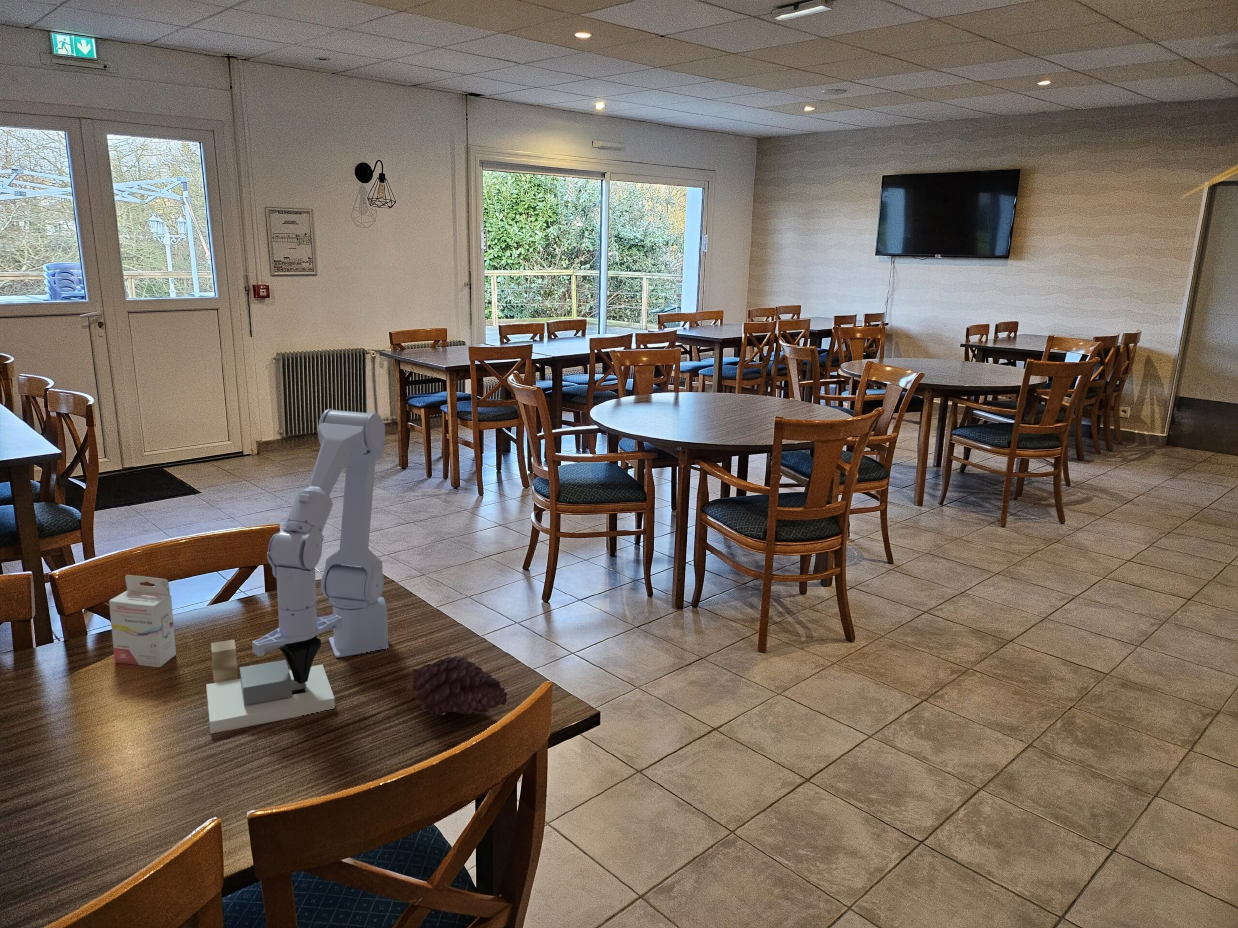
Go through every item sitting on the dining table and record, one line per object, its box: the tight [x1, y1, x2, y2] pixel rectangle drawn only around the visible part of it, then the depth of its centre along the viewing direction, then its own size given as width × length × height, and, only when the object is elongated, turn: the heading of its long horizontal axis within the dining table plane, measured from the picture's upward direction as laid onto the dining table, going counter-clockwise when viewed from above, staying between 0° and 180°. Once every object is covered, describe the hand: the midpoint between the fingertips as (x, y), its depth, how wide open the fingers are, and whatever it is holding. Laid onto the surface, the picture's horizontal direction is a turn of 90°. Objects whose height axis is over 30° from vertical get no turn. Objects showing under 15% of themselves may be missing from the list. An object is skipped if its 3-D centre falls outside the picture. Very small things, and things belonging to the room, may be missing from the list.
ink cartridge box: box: [108, 574, 177, 668], centre depth 145 cm, size 9×5×15 cm, turn 84°
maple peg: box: [210, 639, 239, 683], centre depth 142 cm, size 4×4×6 cm
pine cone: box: [406, 655, 508, 717], centre depth 134 cm, size 18×10×10 cm, turn 70°
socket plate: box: [205, 664, 336, 734], centre depth 135 cm, size 18×12×2 cm, turn 118°
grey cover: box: [239, 659, 293, 705], centre depth 135 cm, size 7×7×3 cm
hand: (300, 680), depth 137 cm, fingers closed
